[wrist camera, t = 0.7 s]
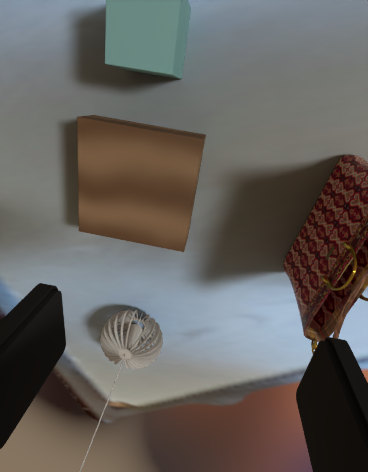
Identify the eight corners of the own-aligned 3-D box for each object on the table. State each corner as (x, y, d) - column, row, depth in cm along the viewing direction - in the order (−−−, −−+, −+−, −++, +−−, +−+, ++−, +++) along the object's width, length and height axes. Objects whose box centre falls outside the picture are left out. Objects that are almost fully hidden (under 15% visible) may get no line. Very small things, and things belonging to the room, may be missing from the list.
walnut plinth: (93, 115, 32) (77, 116, 29) (205, 134, 32) (203, 139, 28) (92, 218, 38) (79, 231, 35) (187, 237, 38) (183, 251, 34)
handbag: (395, 116, 29) (988, 175, 6) (299, 278, 38) (404, 532, 16) (327, 93, 29) (688, 72, 6) (247, 261, 38) (280, 492, 16)
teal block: (130, -1, 28) (106, -26, 22) (190, 8, 27) (182, -14, 22) (126, 70, 30) (104, 63, 25) (181, 79, 30) (172, 74, 25)
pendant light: (146, 355, 48) (46, 676, 21) (99, 325, 47) (-72, 632, 20) (177, 323, 44) (104, 668, 17) (127, 290, 43) (-38, 612, 16)
